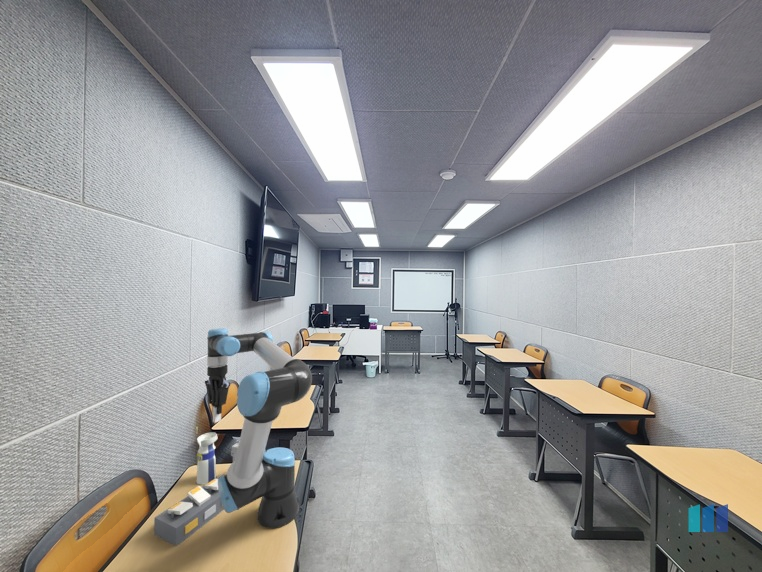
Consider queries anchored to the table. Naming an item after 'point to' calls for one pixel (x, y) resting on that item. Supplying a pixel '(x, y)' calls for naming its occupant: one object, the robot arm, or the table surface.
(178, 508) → the rocker
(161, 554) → the table surface
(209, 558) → the table surface
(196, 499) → the block
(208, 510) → the panel
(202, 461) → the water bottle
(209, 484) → the rocker
